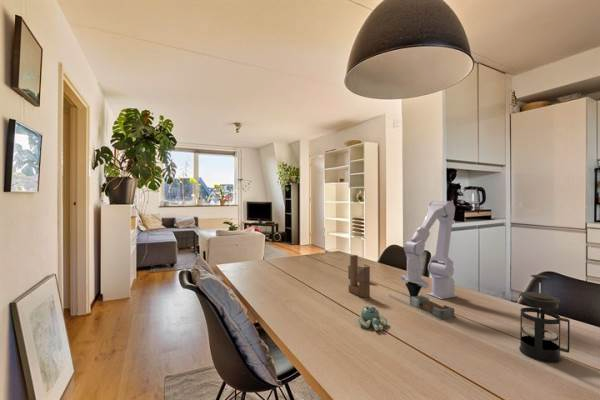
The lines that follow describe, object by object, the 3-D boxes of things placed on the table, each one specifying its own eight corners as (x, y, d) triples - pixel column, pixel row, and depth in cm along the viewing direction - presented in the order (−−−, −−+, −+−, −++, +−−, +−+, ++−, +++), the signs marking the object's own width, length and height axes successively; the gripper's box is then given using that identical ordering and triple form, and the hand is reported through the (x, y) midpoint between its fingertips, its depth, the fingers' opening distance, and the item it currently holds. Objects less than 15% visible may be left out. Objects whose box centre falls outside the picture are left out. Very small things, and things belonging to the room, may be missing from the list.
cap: (421, 302, 126) (421, 295, 126) (429, 305, 123) (429, 298, 123) (410, 304, 124) (410, 297, 124) (417, 307, 120) (417, 300, 120)
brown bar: (428, 307, 122) (428, 300, 122) (447, 316, 112) (447, 308, 112) (422, 308, 121) (422, 301, 121) (441, 317, 111) (441, 309, 111)
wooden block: (364, 298, 132) (364, 258, 132) (348, 291, 141) (348, 254, 141) (370, 296, 134) (370, 257, 134) (353, 290, 143) (353, 254, 143)
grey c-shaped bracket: (445, 313, 115) (445, 305, 115) (454, 317, 111) (454, 308, 111) (432, 315, 112) (432, 307, 112) (441, 319, 109) (441, 311, 109)
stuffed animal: (364, 318, 97) (353, 299, 109) (363, 337, 98) (352, 317, 110) (395, 317, 98) (381, 298, 110) (393, 335, 100) (379, 315, 112)
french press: (514, 353, 85) (515, 275, 85) (518, 342, 92) (519, 269, 92) (569, 370, 77) (570, 283, 77) (569, 355, 84) (569, 276, 84)
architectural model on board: (369, 281, 159) (369, 264, 159) (366, 283, 157) (366, 265, 157) (351, 278, 167) (351, 261, 167) (348, 279, 165) (348, 262, 164)
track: (403, 293, 138) (403, 292, 138) (456, 316, 112) (456, 315, 112) (388, 295, 135) (388, 294, 135) (439, 320, 108) (439, 318, 108)
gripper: (395, 265, 131) (395, 295, 132) (419, 273, 118) (419, 307, 118) (407, 264, 134) (407, 293, 134) (432, 272, 120) (432, 304, 121)
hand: (413, 299), depth 126 cm, fingers closed
